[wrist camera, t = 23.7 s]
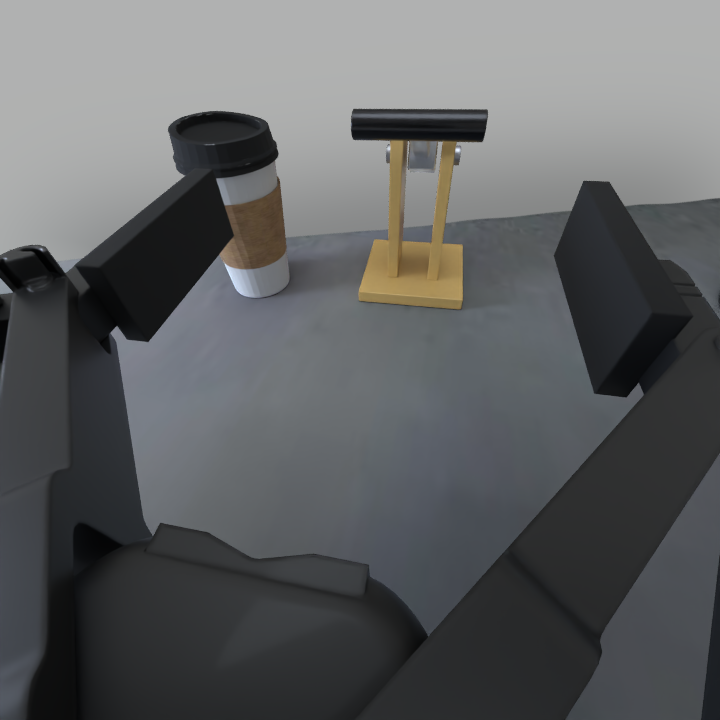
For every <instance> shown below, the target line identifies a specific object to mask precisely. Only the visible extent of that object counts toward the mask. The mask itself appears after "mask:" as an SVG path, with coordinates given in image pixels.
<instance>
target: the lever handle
mask: <svg viewBox="0 0 720 720" xmlns="http://www.w3.org/2000/svg"><path fill="white" fill-rule="evenodd" d="M487 118H488V110H477V109H474V110H473V109H468V110H467V109H465V110H464V109H463V110H462V109H458V110H457V109H353V111H352V116H351V132H352V137H353V139H354V140H385V141H409V142H410V145H409V157H408V170H409V171H410V172H435V165H436V155H437V146H438V141H439V142H440V141H441V142H482V141H483V139H484V136H485V131H486V124H487Z"/></svg>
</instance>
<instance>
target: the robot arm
mask: <svg viewBox="0 0 720 720" xmlns="http://www.w3.org/2000/svg"><path fill="white" fill-rule="evenodd" d="M233 237H234V233H233V230H232V227H231V224H230V221H229V218H228V215H227V211H226V208H225V205H224V202H223V199H222V196H221V193H220V189H219V186H218V183H217V180H216V177H215V174H214V171H213V169H199V168H194V169H193V170H192V171H191V172H189V173H188V174H187V175H186V176H185V177H183V178H182V179H181V180H180V181H178V182H177V183H176V184H175V185H173V186H172V187H171V188H170V189H168V190H167V191H166V192H165V193H163V194H162V195H161V196H160V197H159V198H157V199H156V200H155V201H154V202H152V203H151V204H150V205H149V206H147V207H146V208H145V209H144V210H142V211H141V212H140V213H139V214H137V215H136V216H135V217H134V218H132V219H131V220H130V221H129V222H127V223H126V224H125V225H124V226H123V227H121V228H120V229H119V230H117V231H116V232H115V233H114V234H113V235H111V236H110V237H109V238H108V239H106V240H105V241H104V242H103V243H101V244H100V245H99V246H98V247H96V248H95V249H94V250H93V251H92V252H90V253H89V254H88V255H87V256H85V257H84V258H83V259H81V260H80V261H79V262H78V263H77V264H75V265H74V267H73V268H72V269H70V270H69V271H68V272H67V273H65V272H64V271H63V270H62V268H61V267H60V266H59V264H58V263H57V262H56V260H55V259H54V258H53V256H52V255H51V254H50V252H49V251H48V250H47V248H46V247H44V246H41V245H29V246H23V247H19V248H16V249H13V250H10V251H8V252H6V253H4V254H2V255H0V278H1V279H2V280H3V281H4V282H5V284H6V285H7V286H8V287H9V288H10V289H11V290H12V291H13V293H8V294H0V720H565V719H566V717H567V715H568V714H569V712H570V711H571V709H572V707H573V706H574V704H575V703H576V701H577V700H578V698H579V696H580V695H581V693H582V692H583V690H584V688H585V687H586V685H587V684H588V682H589V681H590V679H591V677H592V675H593V673H594V671H595V669H596V668H597V666H598V664H599V660H600V657H601V654H602V649H601V644H600V638H601V635H602V633H603V631H604V629H605V627H606V625H607V624H608V622H609V621H610V619H611V618H612V616H613V615H614V613H615V612H616V610H617V609H618V607H619V606H620V604H621V603H622V601H623V600H624V598H625V597H626V595H627V593H628V592H629V590H630V589H631V587H632V586H633V584H634V583H635V581H636V580H637V578H638V577H639V575H640V574H641V572H642V571H643V569H644V568H645V566H646V564H647V563H648V561H649V560H650V558H651V557H652V555H653V554H654V552H655V551H656V549H657V548H658V546H659V545H660V543H661V542H662V540H663V539H664V537H665V536H666V534H667V532H668V531H669V529H670V528H671V526H672V525H673V523H674V522H675V520H676V519H677V517H678V516H679V514H680V513H681V511H682V510H683V508H684V507H685V505H686V503H687V502H688V500H689V499H690V497H691V496H692V494H693V493H694V491H695V490H696V488H697V487H698V485H699V484H700V482H701V481H702V479H703V478H704V476H705V475H706V473H707V471H708V470H709V468H710V467H711V465H712V464H713V462H714V461H715V459H716V458H717V456H718V455H719V453H720V319H719V318H718V316H717V315H716V314H715V312H714V311H713V309H712V308H711V306H710V305H709V303H708V302H707V301H706V299H705V298H704V297H702V293H701V292H700V290H699V289H698V288H697V287H695V283H694V282H693V280H692V279H691V277H690V276H689V275H688V273H687V272H686V271H685V270H683V269H682V268H681V267H679V266H678V265H676V264H675V263H674V262H672V261H671V260H658V259H657V257H656V256H655V254H654V253H653V251H652V249H651V248H650V246H649V245H648V243H647V241H646V240H645V238H644V237H643V235H642V233H641V232H640V230H639V229H638V227H637V225H636V224H635V222H634V221H633V219H632V217H631V216H630V214H629V213H628V211H627V209H626V208H625V206H624V205H623V203H622V202H621V200H620V199H619V197H618V195H617V193H616V192H615V190H614V189H613V187H612V186H611V184H610V182H600V181H583V184H582V186H581V189H580V191H579V194H578V196H577V199H576V201H575V204H574V207H573V209H572V211H571V214H570V216H569V219H568V222H567V224H566V227H565V229H564V232H563V234H562V237H561V239H560V242H559V244H558V247H557V249H556V252H555V254H554V257H555V261H556V264H557V268H558V271H559V275H560V278H561V281H562V285H563V288H564V292H565V295H566V298H567V302H568V305H569V309H570V312H571V315H572V319H573V322H574V326H575V329H576V332H577V336H578V339H579V343H580V346H581V349H582V353H583V356H584V360H585V363H586V367H587V370H588V373H589V377H590V380H591V384H592V387H593V390H594V394H602V395H611V396H619V397H627V396H628V395H629V394H630V392H631V391H632V390H633V389H634V388H635V386H636V385H637V384H638V383H639V384H640V386H641V388H642V391H643V393H644V396H643V397H642V398H641V399H640V400H639V401H638V403H637V404H636V405H635V406H634V407H633V408H632V409H631V410H630V411H629V413H628V414H627V415H626V416H625V417H624V418H623V419H622V420H621V422H620V423H619V424H618V425H617V426H616V427H615V428H614V429H613V431H612V432H611V433H610V434H609V435H608V436H607V437H606V438H605V440H604V441H603V442H602V443H601V444H600V445H599V446H598V447H597V449H596V450H595V451H594V452H593V453H592V454H591V455H590V456H589V457H588V459H587V460H586V461H585V462H584V463H583V464H582V465H581V466H580V468H579V469H578V470H577V471H576V472H575V473H574V474H573V475H572V477H571V478H570V479H569V480H568V481H567V482H566V483H565V484H564V486H563V487H562V488H561V489H560V490H559V491H558V492H557V493H556V495H555V496H554V497H553V498H552V499H551V500H550V501H549V502H548V503H547V505H546V506H545V507H544V508H543V509H542V510H541V511H540V512H539V514H538V515H537V516H536V517H535V518H534V519H533V520H532V521H531V523H530V524H529V525H528V526H527V527H526V528H525V529H524V530H523V532H522V533H521V534H520V535H519V536H518V537H517V538H516V539H515V540H514V542H513V543H512V544H511V545H510V546H509V547H508V548H507V549H506V550H505V552H504V553H503V554H502V555H501V556H500V557H499V558H498V559H497V560H496V562H495V563H494V564H493V565H492V566H491V567H490V568H489V569H488V570H487V572H486V573H485V574H484V575H483V576H482V577H481V578H480V579H479V581H478V582H477V583H476V584H475V585H474V586H473V587H472V588H471V590H470V591H469V592H468V593H467V594H466V595H465V596H464V597H463V599H462V600H461V601H460V602H459V603H458V604H457V605H456V606H455V607H454V609H453V610H452V611H451V612H450V613H449V614H448V615H447V616H446V618H445V619H444V620H443V621H442V622H441V623H440V624H439V625H438V627H437V628H436V629H435V630H434V631H433V632H432V633H431V634H430V636H429V637H428V636H427V634H426V632H425V630H424V628H423V627H422V625H421V624H420V622H419V621H418V619H417V618H416V616H415V615H414V614H413V612H412V611H411V610H410V609H409V607H408V606H407V605H406V604H405V603H404V602H403V601H402V600H401V599H400V598H399V597H398V596H397V595H396V594H395V593H394V592H393V591H391V590H390V589H389V588H387V587H386V586H385V585H383V584H382V583H380V582H379V581H377V580H375V579H373V578H372V577H370V573H369V565H367V564H362V563H357V562H352V561H347V560H342V559H337V558H332V557H327V556H322V555H317V554H307V555H296V556H285V557H274V558H263V559H254V558H251V557H249V556H247V555H246V554H244V553H242V552H240V551H239V550H237V549H235V548H234V547H232V546H230V545H228V544H227V543H225V542H223V541H222V540H220V539H218V538H216V537H215V536H213V535H211V534H210V533H208V532H203V531H198V530H193V529H188V528H183V527H178V526H173V525H168V524H163V523H160V524H159V526H158V528H157V530H156V532H155V534H154V536H152V534H151V532H150V531H149V529H148V527H147V526H146V524H145V521H144V518H143V513H142V507H141V500H140V494H139V487H138V481H137V474H136V468H135V461H134V455H133V448H132V442H131V435H130V429H129V422H128V416H127V409H126V403H125V396H124V390H123V383H122V377H121V370H120V364H119V357H118V351H117V344H116V341H115V339H114V338H113V336H112V335H111V334H110V332H111V331H112V330H113V329H114V328H115V327H116V326H118V327H119V329H120V330H121V332H122V333H123V334H124V336H125V337H126V339H127V340H136V341H145V342H149V340H150V339H151V338H152V337H153V336H154V334H155V333H156V332H157V331H158V329H159V328H160V327H161V326H162V324H163V323H164V322H165V321H166V319H167V318H168V317H169V316H170V315H171V313H172V312H173V311H174V310H175V308H176V307H177V306H178V305H179V303H180V302H181V301H182V300H183V298H184V297H185V296H186V295H187V293H188V292H189V291H190V290H191V289H192V287H193V286H194V285H195V284H196V282H197V281H198V280H199V279H200V277H201V276H202V275H203V274H204V272H205V271H206V270H207V269H208V268H209V266H210V265H211V264H212V263H213V261H214V260H215V259H216V258H217V256H218V255H219V254H220V253H221V251H222V250H223V249H224V248H225V247H226V245H227V244H228V243H229V242H230V240H231V239H232V238H233ZM701 720H720V557H719V566H718V575H717V584H716V592H715V601H714V610H713V619H712V628H711V637H710V646H709V655H708V664H707V673H706V682H705V691H704V700H703V709H702V718H701Z"/></svg>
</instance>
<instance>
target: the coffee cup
mask: <svg viewBox="0 0 720 720" xmlns="http://www.w3.org/2000/svg"><path fill="white" fill-rule="evenodd" d="M168 132H169V134H170V139H171V143H172V146H173V150H174V156H173V159H174V161H175V163H176V168H177V170H178V171H179V172H180V173H181V174H183V175H185V176H186V175H187V174H188V173H189V172H191V171H192V170H193V169H194V168H199V169H213V171H214V174H215V177H216V180H217V183H218V186H219V189H220V193H221V196H222V199H223V202H224V205H225V208H226V211H227V215H228V218H229V221H230V224H231V227H232V230H233V233H234V237H233V238H232V239H231V240H230V242H229V243H228V244H227V245H226V247H225V248H224V249H223V250H222V251H221V253H220V256H221V258H222V261H223V262H224V264H225V266H226V268H227V271H228V273H229V275H230V277H231V279H232V282H233V284H234V286H235V288H236V290H237V291H238V292H239V293H240V294H242V295H244V296H246V297H251V298H262V297H267V296H271V295H274V294H276V293H278V292H280V291H281V290H283V289H284V288H285V287H286V286H287V284H288V282H289V279H290V275H289V267H288V259H287V251H286V238H285V229H284V219H283V208H282V198H281V189H280V181H279V178H278V177H277V174H276V166H275V160H276V158H277V157H278V150H277V145H276V142H275V141H274V140H273V138H272V135H271V132H270V129H269V126H268V123H267V122H266V121H265V120H263V119H261V118H258V117H254V116H250V115H246V114H241V113H234V112H225V111H224V112H223V111H210V112H202V113H196V114H192V115H188V116H185V117H182V118H179V119H177V120H176V121H174V122H173V123H172V124H171V125H170V126H169V128H168Z"/></svg>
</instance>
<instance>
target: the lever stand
mask: <svg viewBox="0 0 720 720" xmlns="http://www.w3.org/2000/svg"><path fill="white" fill-rule="evenodd" d="M456 143H457V142H443V145H442V153H441V162H440V170H439V179H438V188H437V196H436V205H435V214H434V223H433V231H432V240H431V243H424V242H408V241H403V223H404V204H405V184H406V165H407V145H408V141H390V144H388V145H387V152H386V161H387V163H390V186H389V236H388V240H374V243H373V246H372V250H371V253H370V256H369V259H368V263H367V266H366V269H365V273H364V276H363V279H362V283H361V286H360V289H359V301H366V302H378V303H389V304H401V305H413V306H424V307H436V308H448V309H461V307H462V302H463V245H458V244H442V243H443V236H444V229H445V221H446V214H447V207H448V200H449V193H450V186H451V179H452V171H453V165H459V160H460V154H461V146H456Z"/></svg>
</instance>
